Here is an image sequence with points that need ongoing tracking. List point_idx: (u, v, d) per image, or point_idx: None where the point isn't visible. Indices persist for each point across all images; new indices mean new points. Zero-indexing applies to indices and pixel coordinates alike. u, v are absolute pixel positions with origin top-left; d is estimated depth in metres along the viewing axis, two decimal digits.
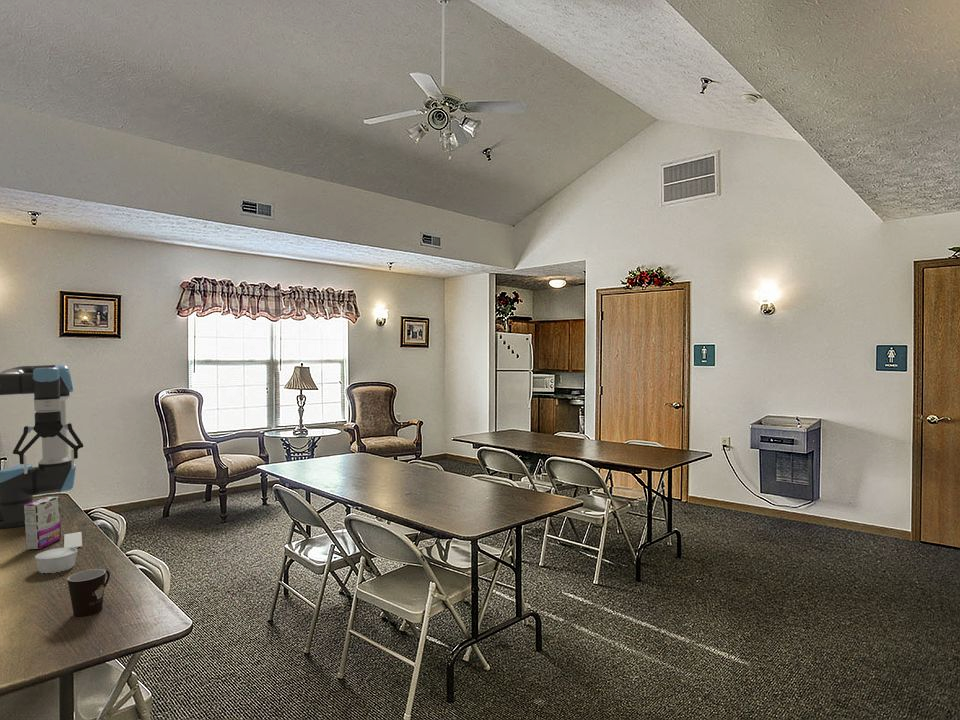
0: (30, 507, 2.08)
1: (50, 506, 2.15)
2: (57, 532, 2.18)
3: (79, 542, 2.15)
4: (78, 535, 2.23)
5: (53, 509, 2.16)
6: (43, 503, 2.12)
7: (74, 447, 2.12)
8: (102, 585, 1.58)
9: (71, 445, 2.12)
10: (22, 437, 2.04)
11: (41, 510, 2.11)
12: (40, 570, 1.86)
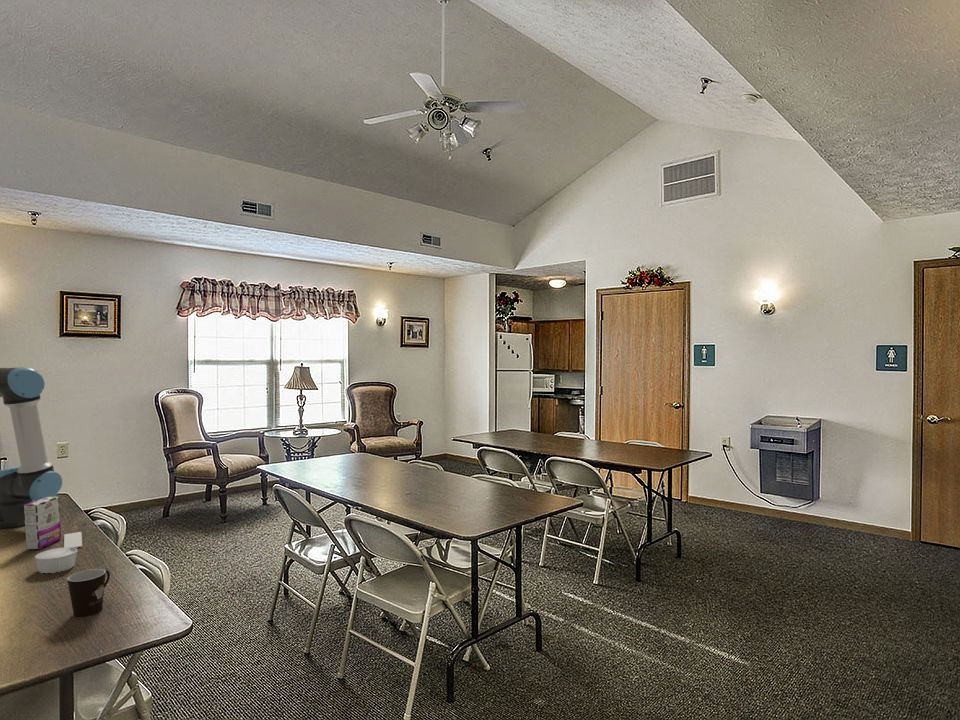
0: (30, 507, 2.08)
1: (50, 506, 2.15)
2: (57, 532, 2.18)
3: (79, 542, 2.15)
4: (78, 535, 2.23)
5: (53, 509, 2.16)
6: (43, 503, 2.12)
7: None
8: (102, 585, 1.58)
9: None
10: None
11: (41, 510, 2.11)
12: (40, 570, 1.86)
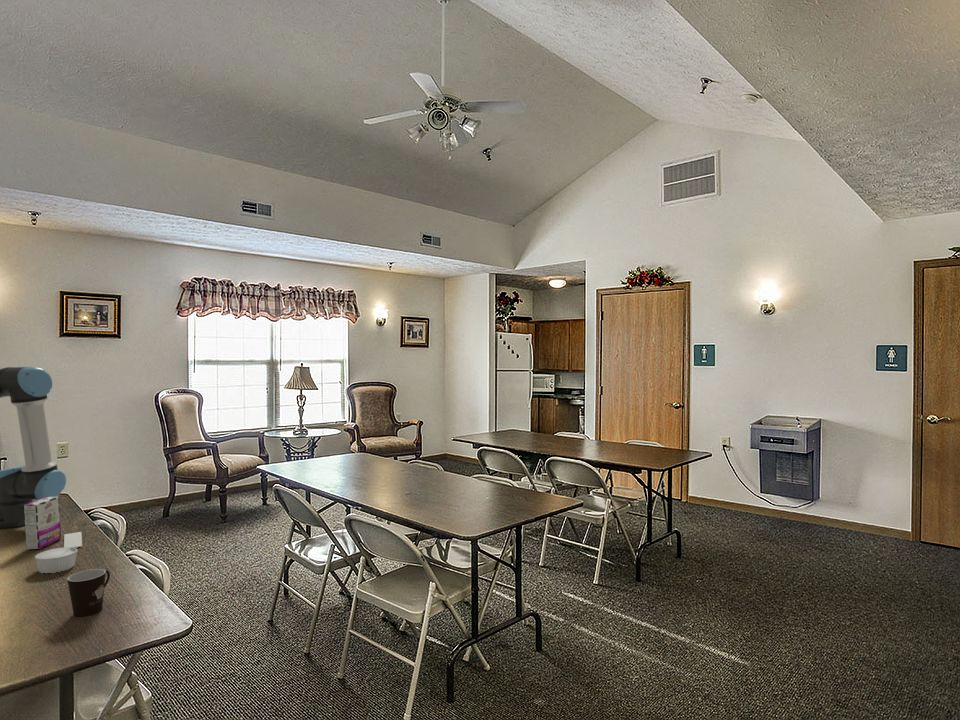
0: (30, 507, 2.08)
1: (50, 506, 2.15)
2: (57, 532, 2.18)
3: (79, 542, 2.15)
4: (78, 535, 2.23)
5: (53, 509, 2.16)
6: (43, 503, 2.12)
7: None
8: (102, 585, 1.58)
9: None
10: None
11: (41, 510, 2.11)
12: (40, 570, 1.86)
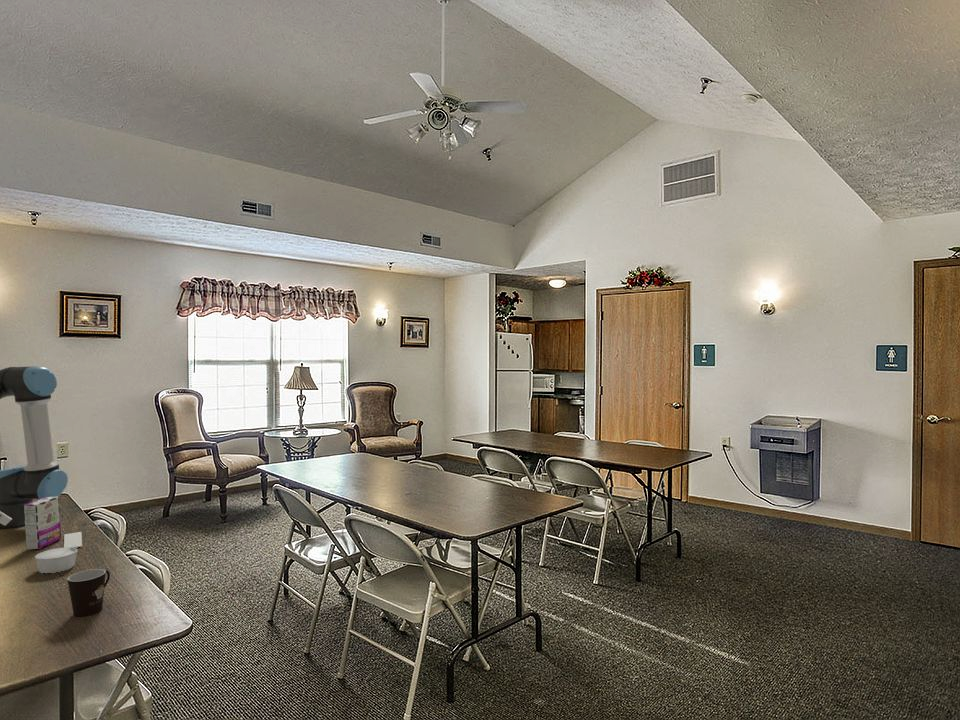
0: (30, 507, 2.08)
1: (50, 506, 2.15)
2: (57, 532, 2.18)
3: (79, 542, 2.15)
4: (78, 535, 2.23)
5: (53, 509, 2.16)
6: (43, 503, 2.12)
7: None
8: (102, 585, 1.58)
9: None
10: None
11: (41, 510, 2.11)
12: (40, 570, 1.86)
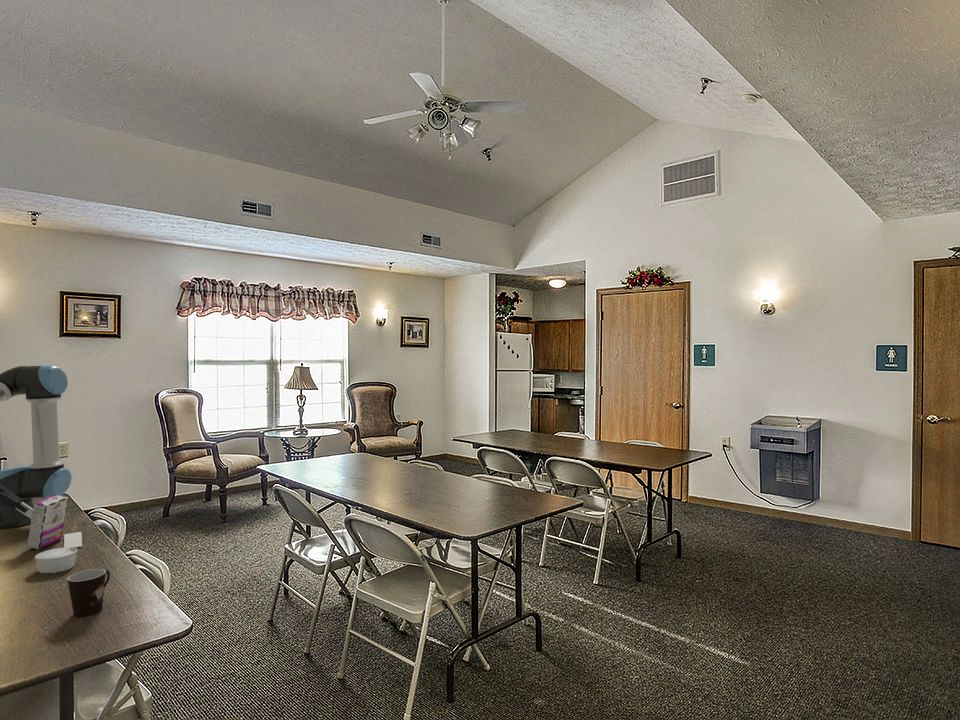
0: (40, 507, 2.08)
1: (58, 507, 2.15)
2: (59, 532, 2.18)
3: (79, 542, 2.15)
4: (78, 535, 2.23)
5: (60, 510, 2.16)
6: (53, 504, 2.12)
7: None
8: (102, 585, 1.58)
9: None
10: None
11: (49, 511, 2.11)
12: (40, 570, 1.86)
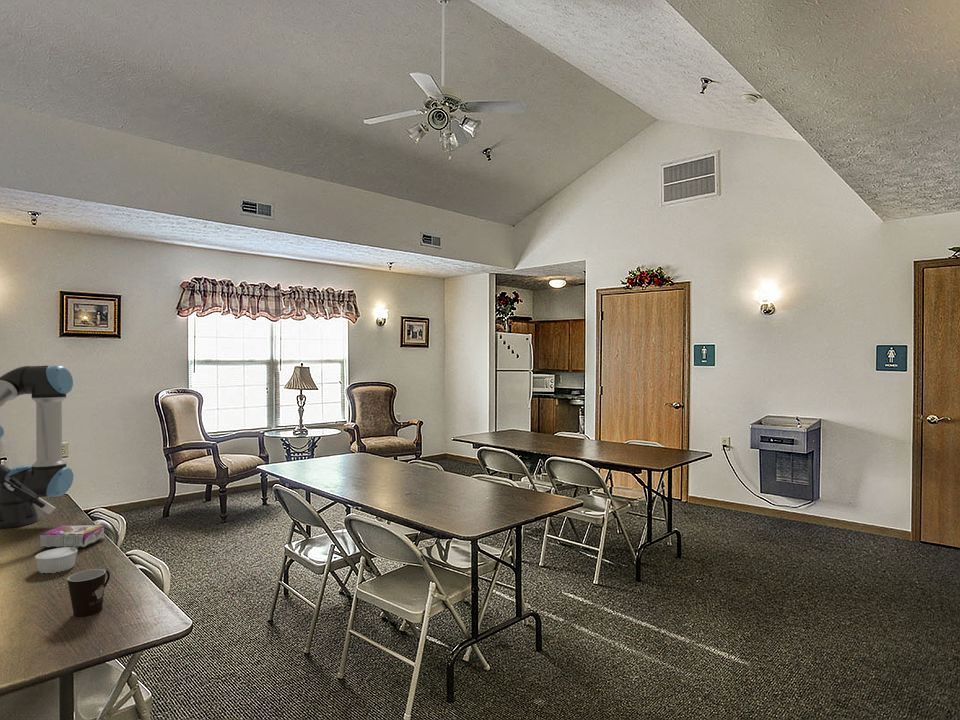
0: (80, 541, 2.09)
1: None
2: None
3: None
4: None
5: None
6: (88, 544, 2.12)
7: None
8: (102, 585, 1.58)
9: None
10: None
11: None
12: (40, 570, 1.86)
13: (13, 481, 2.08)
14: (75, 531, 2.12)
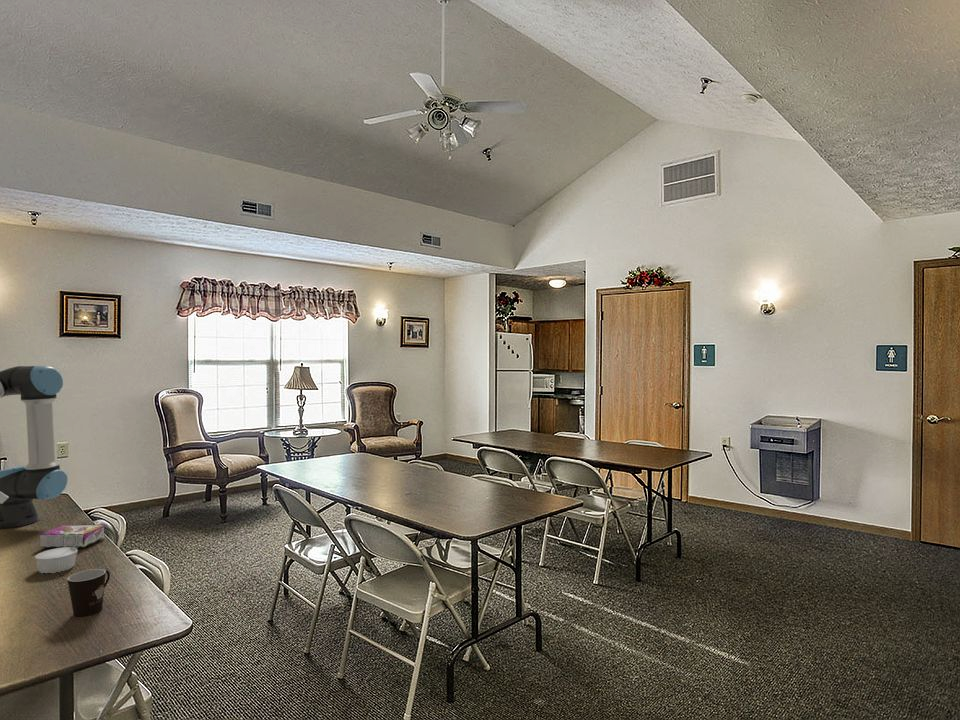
0: (80, 541, 2.09)
1: None
2: None
3: None
4: None
5: None
6: (88, 544, 2.12)
7: None
8: (102, 585, 1.58)
9: None
10: None
11: None
12: (40, 570, 1.86)
13: None
14: (75, 531, 2.12)
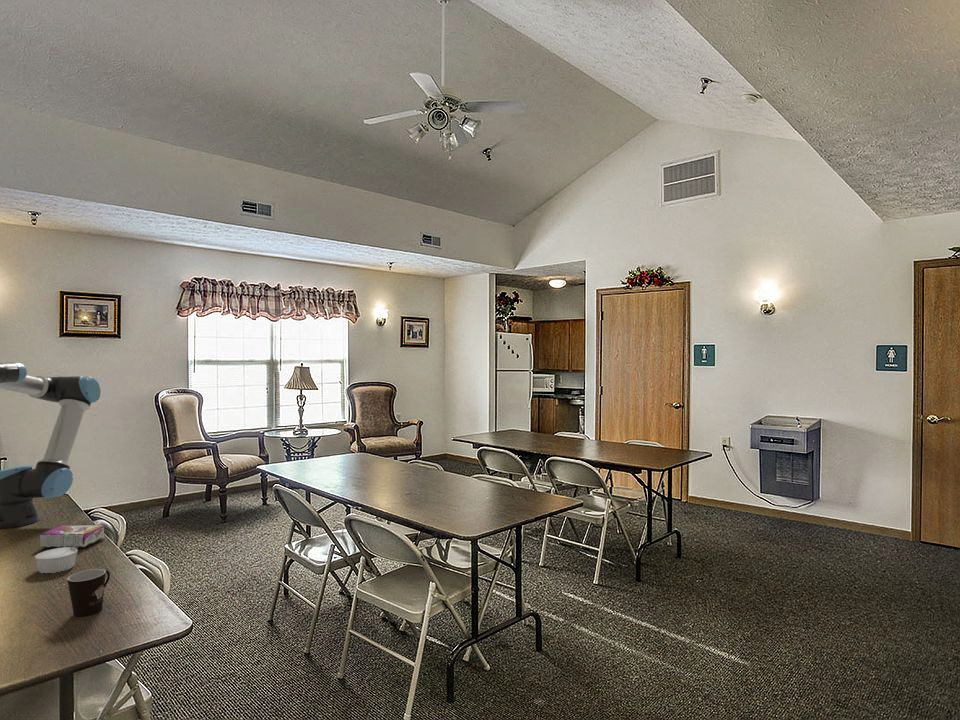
0: (80, 541, 2.09)
1: None
2: None
3: None
4: None
5: None
6: (88, 544, 2.12)
7: None
8: (102, 585, 1.58)
9: None
10: None
11: None
12: (40, 570, 1.86)
13: None
14: (75, 531, 2.12)
